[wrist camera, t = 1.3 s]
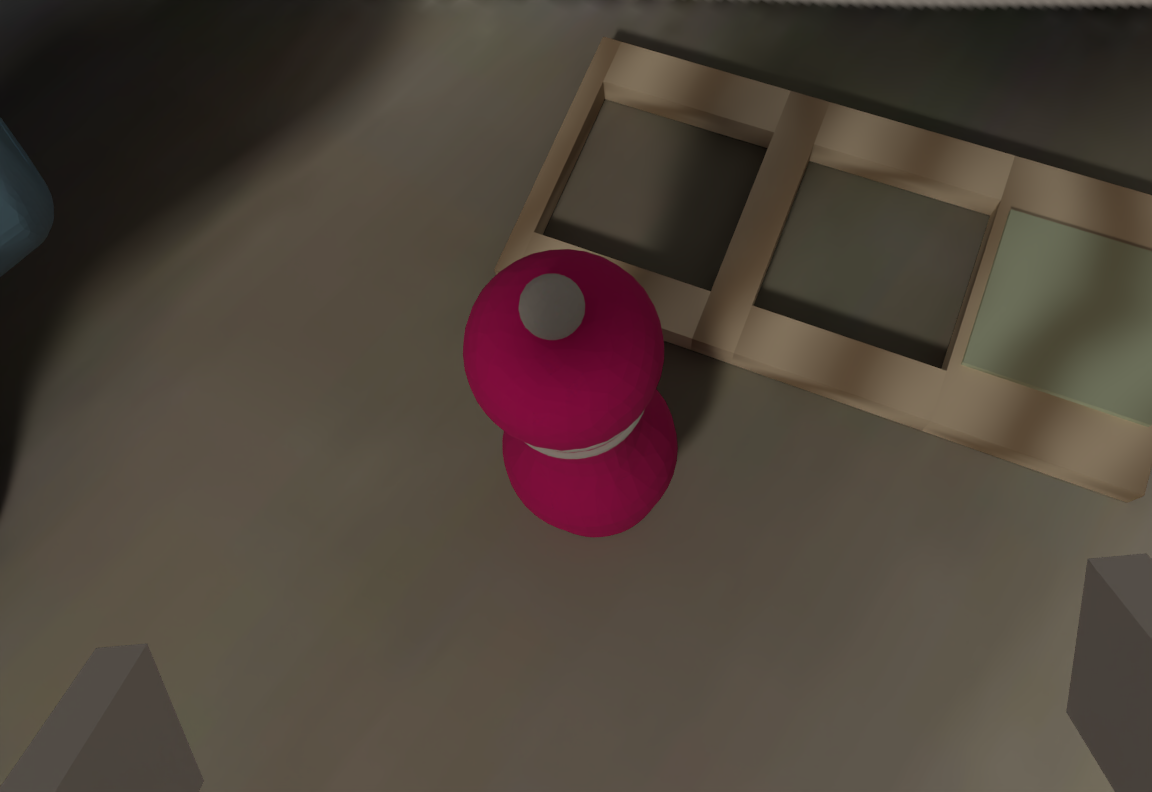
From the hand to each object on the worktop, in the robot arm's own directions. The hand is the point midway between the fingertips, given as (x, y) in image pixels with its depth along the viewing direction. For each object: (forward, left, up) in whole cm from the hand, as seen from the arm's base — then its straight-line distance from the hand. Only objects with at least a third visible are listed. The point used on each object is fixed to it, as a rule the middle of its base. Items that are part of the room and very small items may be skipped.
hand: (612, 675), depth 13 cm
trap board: (+2, +22, -28) cm, 36 cm away
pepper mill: (-5, +8, -28) cm, 30 cm away
